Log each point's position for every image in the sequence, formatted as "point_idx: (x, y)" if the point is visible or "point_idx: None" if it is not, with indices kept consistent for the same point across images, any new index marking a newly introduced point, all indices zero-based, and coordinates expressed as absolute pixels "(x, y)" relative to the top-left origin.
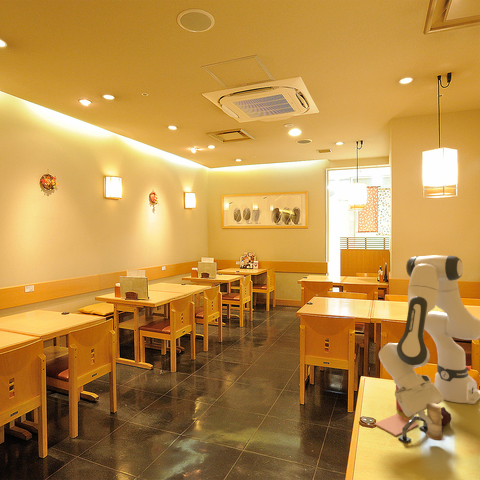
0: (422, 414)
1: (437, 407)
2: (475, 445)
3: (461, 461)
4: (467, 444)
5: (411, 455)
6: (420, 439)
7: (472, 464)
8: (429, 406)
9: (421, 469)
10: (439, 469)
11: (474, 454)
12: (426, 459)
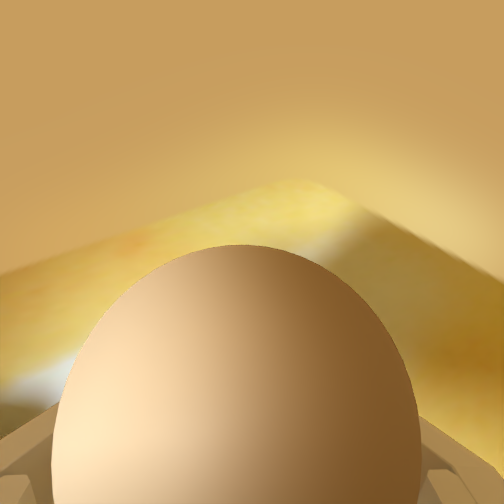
0: (489, 482)
1: (248, 301)
2: (51, 257)
3: (258, 236)
4: (72, 284)
5: (448, 407)
6: None
7: (238, 203)
8: (382, 467)
9: (478, 305)
10: (400, 261)
11: (149, 227)
12: (396, 336)
